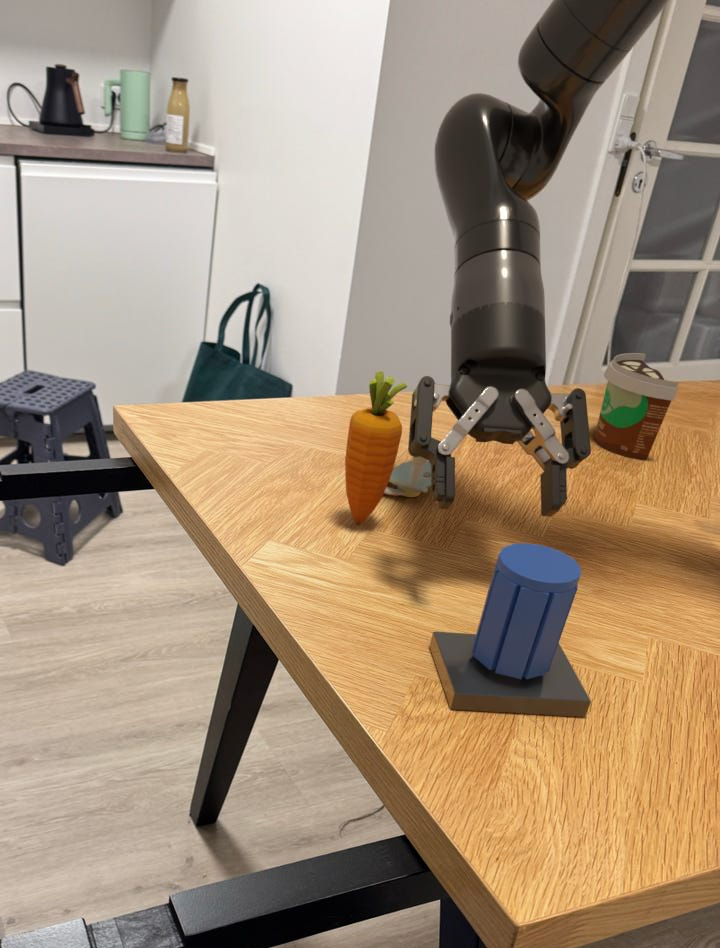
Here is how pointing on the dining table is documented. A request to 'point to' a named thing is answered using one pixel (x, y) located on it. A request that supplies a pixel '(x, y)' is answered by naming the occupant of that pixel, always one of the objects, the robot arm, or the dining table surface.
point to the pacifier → (410, 478)
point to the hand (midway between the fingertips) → (499, 509)
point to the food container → (633, 406)
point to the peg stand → (504, 682)
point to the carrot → (372, 448)
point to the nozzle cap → (526, 610)
